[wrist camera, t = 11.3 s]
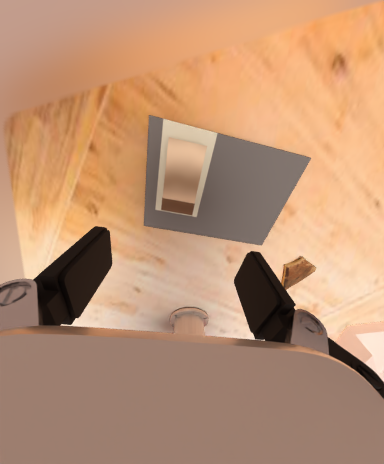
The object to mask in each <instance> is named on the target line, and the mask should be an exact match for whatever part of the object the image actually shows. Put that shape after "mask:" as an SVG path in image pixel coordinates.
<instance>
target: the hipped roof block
mask: <svg viewBox="0 0 384 464" xmlns="http://www.w3.org/2000/svg"><path fill="white" fill-rule="evenodd" d="M335 343H337V344H338V345H340V346H341V347H342V348H344V349H345V350H347V351H348V352H349V353H351V354H352V355H354V356H355V357H356V358H358V359H359V360H361V361H362V362H364V363H365V364H366V365H367V366H369V367H370V368H371V369H372V370H373V371H375V372H376V373H377V374H378V376H379V377H380V378H381V380H382V381H383V382H384V321H380V322H372V323H363V324H355V325H347V326H346V327H345V328H344V330H343V331H342V333H341V334H340V335H339V337H338V338H337V340H336V341H335Z"/></svg>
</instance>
